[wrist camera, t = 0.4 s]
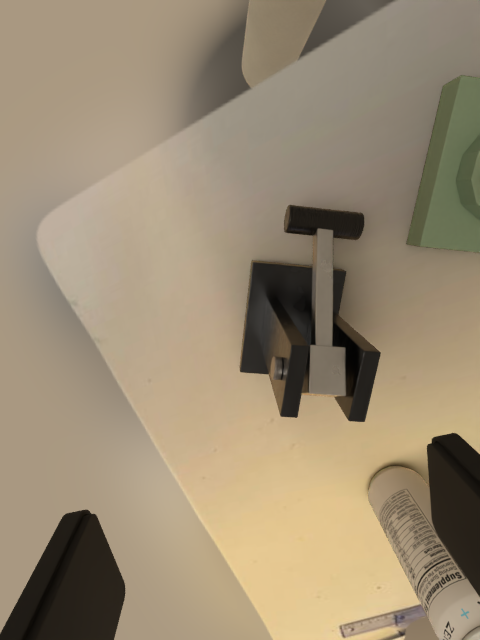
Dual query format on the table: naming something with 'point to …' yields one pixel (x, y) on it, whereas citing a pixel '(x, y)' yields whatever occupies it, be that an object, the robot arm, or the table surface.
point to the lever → (323, 293)
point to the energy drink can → (424, 553)
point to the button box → (451, 173)
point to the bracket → (300, 337)
